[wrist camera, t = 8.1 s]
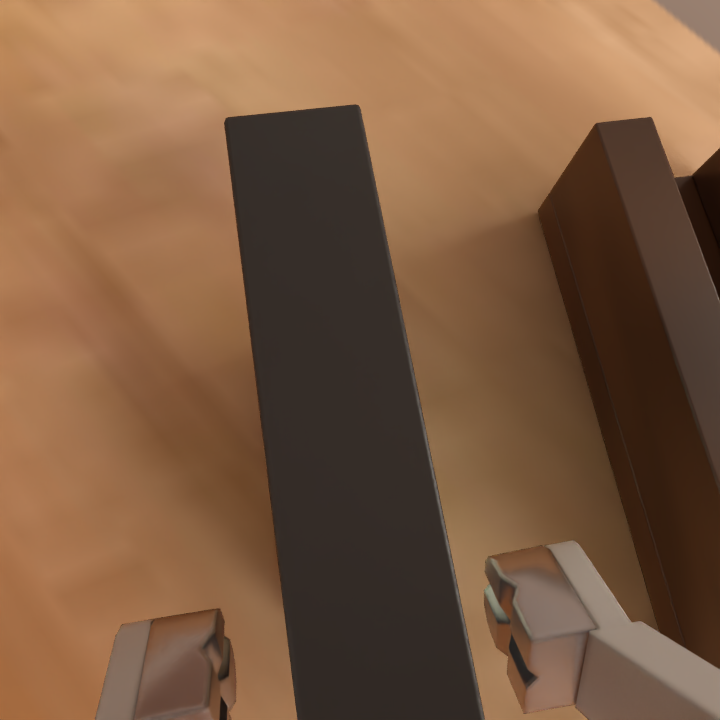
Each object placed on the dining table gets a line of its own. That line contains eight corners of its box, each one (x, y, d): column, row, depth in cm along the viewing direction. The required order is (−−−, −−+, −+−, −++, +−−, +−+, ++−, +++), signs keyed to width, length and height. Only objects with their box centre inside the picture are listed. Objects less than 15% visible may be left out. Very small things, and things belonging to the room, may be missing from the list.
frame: (394, 634, 14) (503, 804, 5) (321, 648, 14) (312, 848, 5) (342, 330, 16) (360, 102, 7) (279, 339, 16) (222, 116, 7)
